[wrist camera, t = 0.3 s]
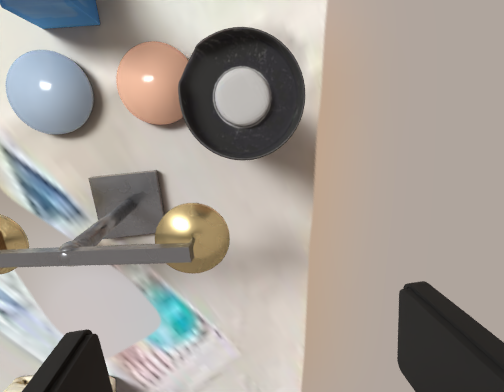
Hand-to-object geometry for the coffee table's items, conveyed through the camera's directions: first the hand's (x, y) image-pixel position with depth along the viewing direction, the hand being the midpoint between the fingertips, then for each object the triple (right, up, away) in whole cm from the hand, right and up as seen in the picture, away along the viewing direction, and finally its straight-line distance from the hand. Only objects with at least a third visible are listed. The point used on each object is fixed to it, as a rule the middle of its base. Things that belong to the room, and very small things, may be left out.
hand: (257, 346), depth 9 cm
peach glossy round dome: (-11, +18, +26) cm, 33 cm away
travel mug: (-2, +15, +27) cm, 31 cm away
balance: (-16, +4, +29) cm, 33 cm away
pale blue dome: (-23, +16, +25) cm, 38 cm away
